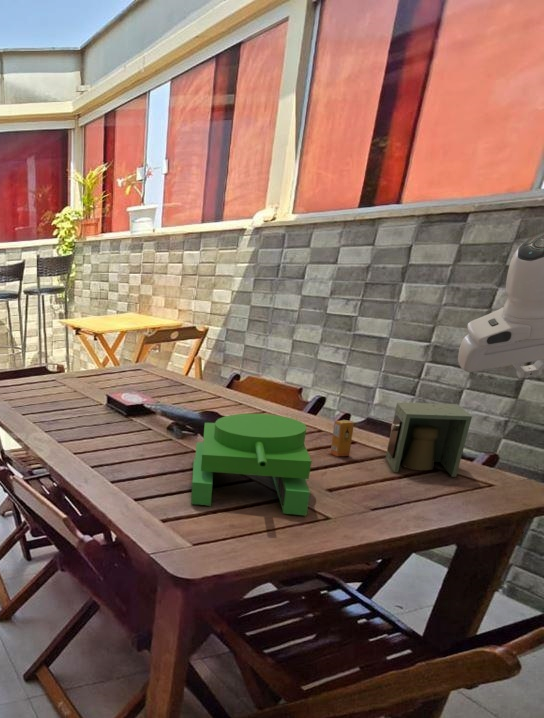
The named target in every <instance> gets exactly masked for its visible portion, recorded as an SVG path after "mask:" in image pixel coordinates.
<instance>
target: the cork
mask: <svg viewBox="0 0 544 718" xmlns="http://www.w3.org/2000/svg"><path fill="white" fill-rule="evenodd" d="M411 435H412V437H413V439H412V441H411V444H410V446H409V448H408V451H407V453H406V456H405V458H404V460H402V463H401V465H402V466H403V467H405V468H407V469H411V470H417V471H431V470H434V463H435V462H434V444H435V439H436V438H438V436H439V429H438V428H436V427H434V426H430V425H417V426H415V427H414V428H413V429H412V431H411Z"/></svg>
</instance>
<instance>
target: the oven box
mask: <svg viewBox="0 0 544 718" xmlns="http://www.w3.org/2000/svg"><path fill="white" fill-rule="evenodd" d="M472 419H473V415H471V414H470V413H469V412H468V411H466V410H465V409H464V408H463V407H462V406H461V405H459V404H458V403H434V402H433V403H430V402H429V403H428V402H396V407H395V411H394V415H393V421H392V424H391V426H390V434H389V439H388V444H387V448H386V453H385V459H386V461H387V463H388V465H389V466H390V467H391V470H392V472H393V473H399V470H400V466H401V461H403V460H404V458H405V456H406V453H407V451H408V448H409V446H410V444H411V441H412V439H413V437H412V435H411V431H412V429H413V428H414V427H415V426H417V425H430V426H434V427H436V428H438V429H439V436H438V438H436V439H435V444H434V463H440V464H441V466H442V467H443V469H444V470H446V472H447V473H448V474H449V475H450V477H452V478H457V475H458V472H459V469H460V468H459V467H460V464H461V460H462V456H463V452H464V448H465V445H466V441H467V437H468V433H469V429H470V426H471V422H472Z"/></svg>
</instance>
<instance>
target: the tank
mask: <svg viewBox="0 0 544 718" xmlns="http://www.w3.org/2000/svg"><path fill="white" fill-rule="evenodd" d="M203 427H204V428H203V440H202V441H203V442H202V441H198V442H196V445H195V446H196V447H195V454H194V460H193V464H192V480H191V481H192V482H191V493H190V496H191V497H190V505H200V506H208V507H209V506H210V507H211V506H212V495H213V482H214V481H213V479H214V473H221V474H234V475H235V474H236V475H237V474H238V475H247V476H248V475H250V476H262V477H271V478H272V480H273V483H274V487H275V490H276V494H277V497H278V501H279V503H280V506H281V509H282V514H285V515H286V514H287V515H296V516H304V517H305V516H308V509H309V508H308V507H309V502H310V495H311V491H310V488H309V486H308V483H307V480H309V479H310V473H311V466H312V459H311V457H310V455H309V452H308V449H307V447H306V445H305V440H306V435H307V434H306V433H307V425H306V424H305V423H304V422H302V421H300V420H297V419H295V418H291V417H288V416H284V415H283V416H282V415H276V414H269V413H237V414H231V415H226V416H222V417H219V418H217V419H216V421H214V422H204V426H203Z"/></svg>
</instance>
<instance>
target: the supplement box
mask: <svg viewBox="0 0 544 718" xmlns="http://www.w3.org/2000/svg"><path fill="white" fill-rule="evenodd" d="M354 426H355V423H354V422H353V421H350V420H348V419H343V420H334V423H333V431H332V438H331V447H330V454H331V455H333V456H334V457H336V458H337V457H349V456H350V452H351V445H352V439H353V433H354Z"/></svg>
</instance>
